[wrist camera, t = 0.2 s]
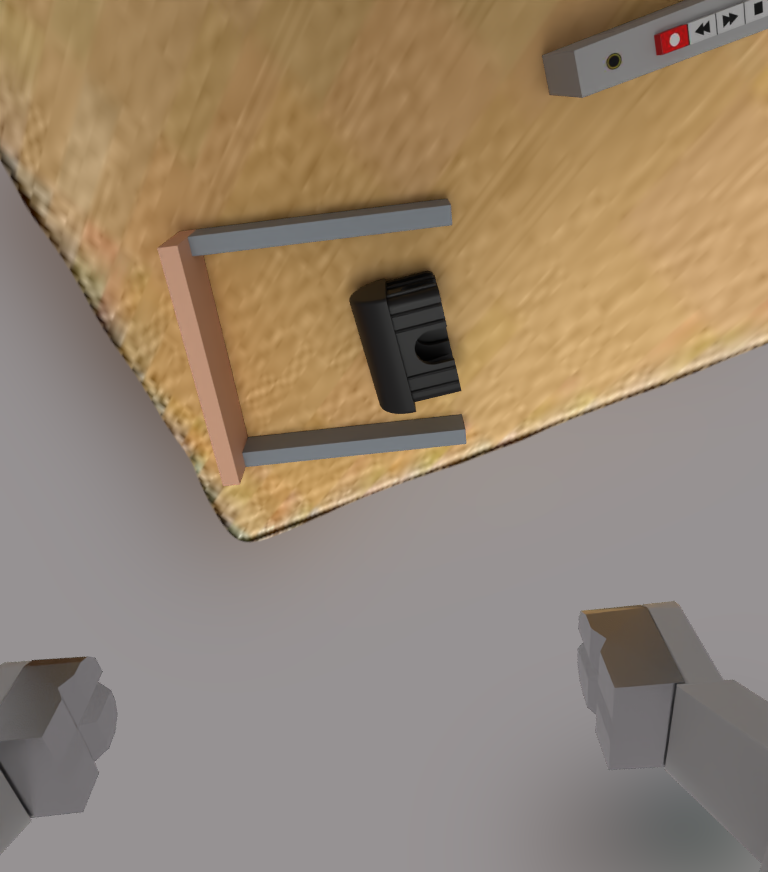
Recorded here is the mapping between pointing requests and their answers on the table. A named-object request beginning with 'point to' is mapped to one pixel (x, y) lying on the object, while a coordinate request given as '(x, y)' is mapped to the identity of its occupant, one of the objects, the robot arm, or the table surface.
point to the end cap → (405, 340)
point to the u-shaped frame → (212, 359)
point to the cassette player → (651, 44)
